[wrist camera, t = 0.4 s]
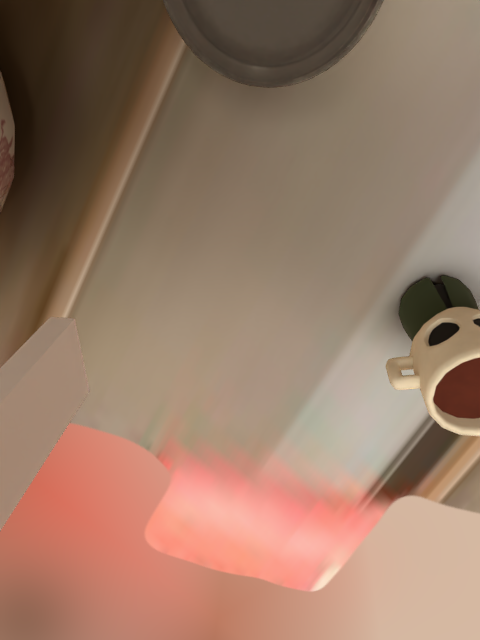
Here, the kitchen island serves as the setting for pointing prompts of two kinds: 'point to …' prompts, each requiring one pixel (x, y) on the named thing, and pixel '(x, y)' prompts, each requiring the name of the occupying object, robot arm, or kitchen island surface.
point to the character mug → (442, 352)
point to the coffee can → (271, 35)
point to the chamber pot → (6, 143)
